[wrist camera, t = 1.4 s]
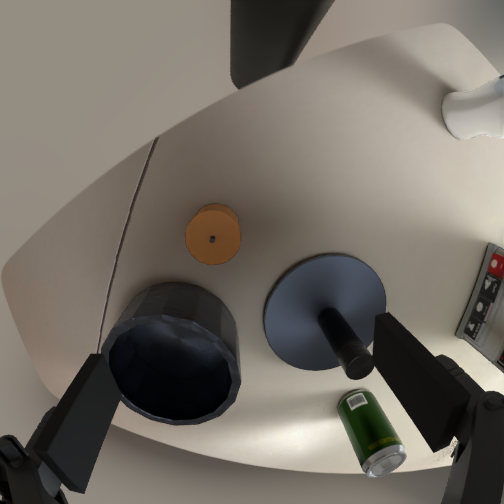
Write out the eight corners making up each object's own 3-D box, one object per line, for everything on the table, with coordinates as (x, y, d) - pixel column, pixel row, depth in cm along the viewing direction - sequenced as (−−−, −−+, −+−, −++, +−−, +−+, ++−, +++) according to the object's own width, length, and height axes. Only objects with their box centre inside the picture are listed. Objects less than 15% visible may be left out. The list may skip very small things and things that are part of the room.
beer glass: (436, 131, 27) (537, 122, 13) (439, 79, 25) (530, 52, 11) (474, 151, 28) (567, 155, 13) (477, 102, 26) (564, 91, 12)
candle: (189, 207, 28) (178, 216, 22) (235, 200, 28) (236, 207, 22) (197, 252, 29) (189, 272, 23) (242, 246, 29) (245, 264, 23)
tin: (110, 289, 29) (81, 321, 22) (226, 273, 29) (225, 305, 22) (143, 383, 32) (129, 425, 25) (245, 374, 33) (249, 419, 25)
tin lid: (254, 263, 29) (266, 308, 20) (382, 243, 30) (438, 273, 20) (270, 374, 33) (283, 438, 23) (378, 350, 33) (417, 400, 24)
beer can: (330, 401, 35) (358, 470, 23) (365, 380, 34) (403, 444, 23) (344, 420, 36) (371, 483, 25) (377, 401, 36) (411, 460, 24)
